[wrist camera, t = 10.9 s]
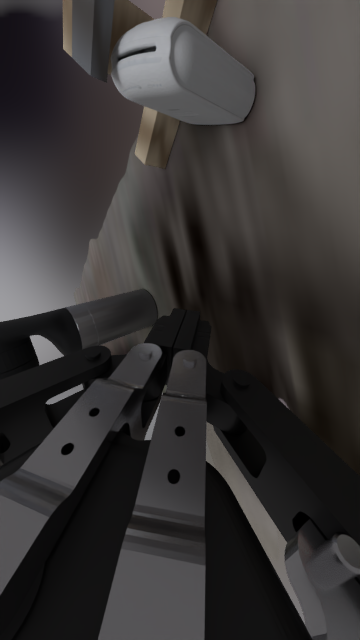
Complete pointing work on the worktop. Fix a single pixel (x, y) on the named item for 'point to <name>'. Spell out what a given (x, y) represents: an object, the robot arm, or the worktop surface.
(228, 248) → the worktop surface
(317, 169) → the worktop surface
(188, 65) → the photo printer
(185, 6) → the retention stand
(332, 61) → the worktop surface
